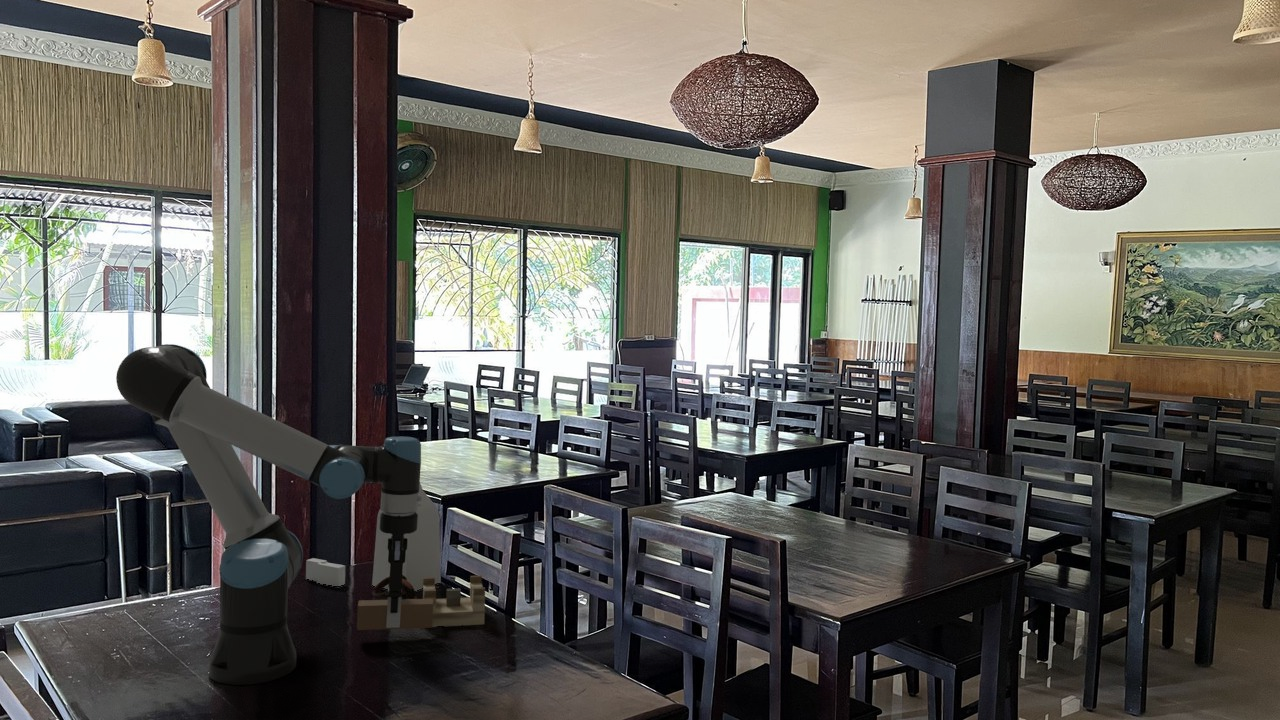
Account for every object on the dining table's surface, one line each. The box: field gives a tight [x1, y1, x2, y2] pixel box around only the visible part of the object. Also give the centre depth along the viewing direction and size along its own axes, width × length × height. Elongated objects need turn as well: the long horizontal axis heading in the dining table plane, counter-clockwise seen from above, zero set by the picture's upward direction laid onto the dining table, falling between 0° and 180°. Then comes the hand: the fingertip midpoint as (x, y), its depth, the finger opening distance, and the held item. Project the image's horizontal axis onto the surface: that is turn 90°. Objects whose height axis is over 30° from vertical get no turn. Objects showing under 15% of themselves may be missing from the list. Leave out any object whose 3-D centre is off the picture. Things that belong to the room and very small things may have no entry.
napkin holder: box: [305, 557, 346, 587], centre depth 227 cm, size 15×11×6 cm
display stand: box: [422, 574, 486, 628], centre depth 203 cm, size 10×13×8 cm
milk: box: [371, 482, 442, 592], centre depth 226 cm, size 12×12×26 cm
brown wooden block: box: [356, 598, 433, 631], centre depth 189 cm, size 4×15×5 cm, turn 104°
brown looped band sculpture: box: [371, 575, 418, 600], centre depth 210 cm, size 12×10×8 cm
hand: (393, 623), depth 189 cm, fingers closed on brown wooden block, 4 cm apart
